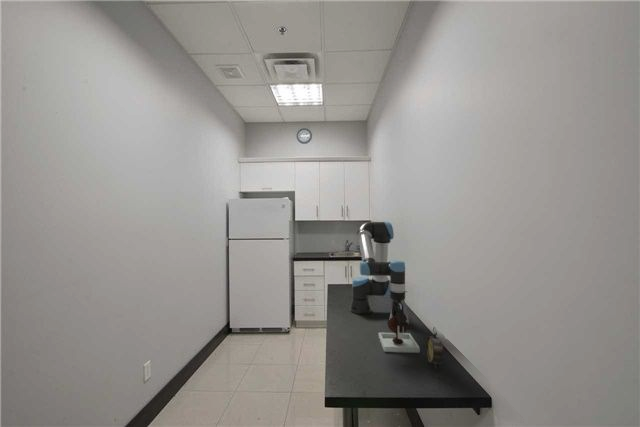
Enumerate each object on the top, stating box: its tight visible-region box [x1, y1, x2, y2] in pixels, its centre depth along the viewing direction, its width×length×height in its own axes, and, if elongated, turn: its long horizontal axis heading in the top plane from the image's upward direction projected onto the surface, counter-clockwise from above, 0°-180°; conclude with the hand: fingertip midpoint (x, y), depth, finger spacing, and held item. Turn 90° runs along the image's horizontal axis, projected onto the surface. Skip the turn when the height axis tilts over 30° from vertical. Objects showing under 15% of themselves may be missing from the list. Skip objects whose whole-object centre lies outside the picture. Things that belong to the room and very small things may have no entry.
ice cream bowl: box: [386, 313, 410, 344], centre depth 140 cm, size 11×11×15 cm
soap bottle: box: [388, 290, 410, 324], centre depth 170 cm, size 12×12×20 cm
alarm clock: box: [425, 326, 445, 370], centre depth 120 cm, size 11×5×16 cm, turn 174°
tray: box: [378, 332, 421, 354], centre depth 139 cm, size 17×17×2 cm
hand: (397, 333), depth 140 cm, fingers open, 11 cm apart
